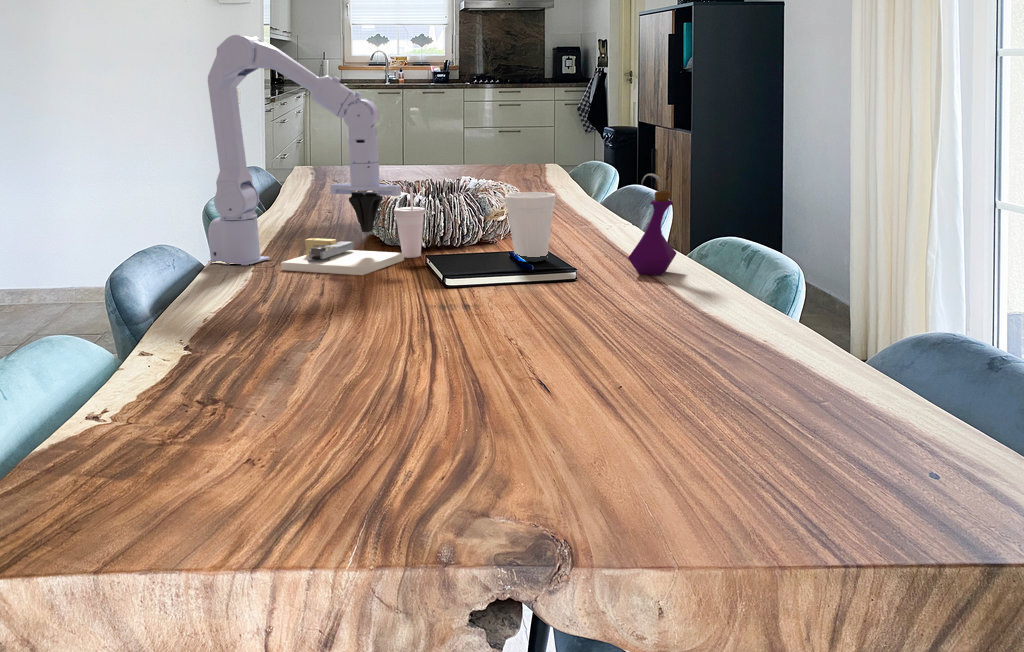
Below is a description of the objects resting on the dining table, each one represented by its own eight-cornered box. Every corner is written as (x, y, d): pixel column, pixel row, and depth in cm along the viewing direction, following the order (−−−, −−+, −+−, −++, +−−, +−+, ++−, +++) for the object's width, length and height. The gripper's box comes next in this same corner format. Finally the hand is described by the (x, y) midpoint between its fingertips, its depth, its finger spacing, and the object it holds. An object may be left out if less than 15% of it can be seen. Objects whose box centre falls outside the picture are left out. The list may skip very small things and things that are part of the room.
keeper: (306, 256, 200) (304, 239, 199) (311, 254, 202) (310, 238, 201) (331, 257, 198) (330, 240, 197) (337, 255, 200) (336, 239, 199)
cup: (566, 259, 199) (565, 193, 196) (540, 268, 191) (539, 198, 188) (523, 255, 204) (522, 191, 201) (495, 263, 196) (494, 196, 193)
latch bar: (321, 259, 193) (321, 249, 193) (308, 258, 194) (307, 248, 194) (353, 248, 204) (353, 239, 204) (340, 248, 205) (339, 238, 205)
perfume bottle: (676, 270, 186) (678, 171, 182) (669, 277, 179) (670, 175, 175) (636, 268, 189) (637, 171, 184) (627, 275, 182) (628, 175, 177)
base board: (281, 270, 194) (280, 261, 194) (327, 256, 208) (326, 247, 208) (362, 275, 187) (361, 266, 187) (404, 260, 202) (403, 251, 201)
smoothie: (422, 259, 203) (419, 189, 199) (391, 258, 204) (388, 189, 201) (430, 253, 209) (428, 185, 205) (401, 253, 210) (398, 185, 207)
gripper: (406, 161, 198) (409, 229, 202) (341, 160, 203) (345, 227, 207) (390, 164, 192) (393, 235, 195) (323, 162, 197) (327, 232, 200)
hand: (367, 231), depth 200 cm, fingers closed
